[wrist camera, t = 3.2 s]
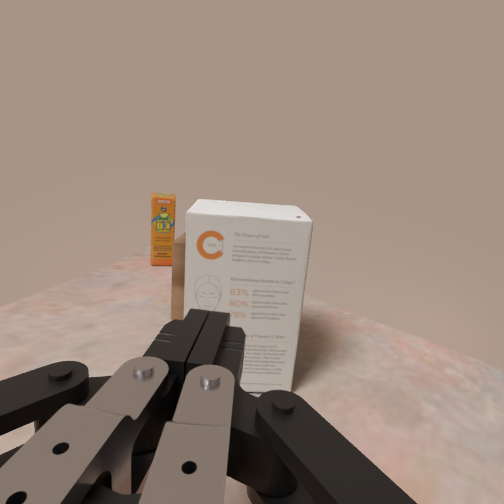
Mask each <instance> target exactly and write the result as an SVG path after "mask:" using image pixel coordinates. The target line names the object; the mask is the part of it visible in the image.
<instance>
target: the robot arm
mask: <svg viewBox="0 0 504 504" xmlns="http://www.w3.org/2000/svg"><path fill="white" fill-rule="evenodd" d="M245 340H246V334H245V332H244V331H243V329H242V327H234V326H230V313H226V312H218V311H211V312H210V311H209V310H201V309H193V308H191V309H190V310H189V312H188V313H187V315H186V316H185V318H184V320H178V319H174V320H172V321H171V322H169V323H167V324H165V325H164V327H163V328H162V330H161V331H160V333H159V334H158V335H157V337H156V338H155V340H154V341H153V342H152V344H151V345H150V347H149V348H148V349H147V351H146V352H145V354H144V355H143V357H138V358H134V359H131V360H129V361H127V362H125V363H124V364H123V365H122V366H121V367H120V368H119V369H118V370H117V371H116V372H115V373H114V374H113V375H112V376H104V377H90V378H89V372H88V368H87V366H86V365H84V364H83V363H80V362H76V361H62V362H57V363H53V364H50V365H47V366H44V367H41V368H38V369H35V370H32V371H29V372H26V373H23V374H20V375H17V376H14V377H11V378H8V379H5V380H2V381H0V436H1V435H3V434H5V433H8V432H10V431H12V430H15V429H17V428H19V427H22V426H24V425H26V424H29V423H31V422H33V421H34V427H35V434H34V435H33V436H32V437H31V438H30V439H29V440H28V441H27V442H26V443H25V444H23V445H21V446H19V447H16V448H14V449H12V450H10V451H8V452H6V453H3V454H1V455H0V504H224V495H225V484H226V475H227V476H229V477H231V478H233V479H235V480H237V481H239V482H241V483H243V484H245V485H247V494H248V497H249V499H250V501H251V502H252V504H417V503H416V502H415V501H414V500H413V499H412V498H410V497H409V496H408V495H407V494H406V493H405V492H404V491H403V490H402V489H401V488H400V487H398V486H397V485H396V484H395V483H394V482H393V481H392V480H391V479H390V478H389V477H388V476H386V475H385V474H384V473H383V472H382V471H381V470H380V469H379V468H378V467H377V466H376V465H374V464H373V463H372V462H371V461H370V460H369V459H368V458H367V457H366V456H365V455H363V454H362V453H361V452H360V451H359V450H358V449H357V448H356V447H355V446H354V445H353V444H351V443H350V442H349V441H348V440H347V439H346V438H345V437H344V436H343V435H342V434H341V433H339V432H338V431H337V430H336V429H335V428H334V427H333V426H332V425H331V424H330V423H329V422H327V421H326V420H325V419H324V418H323V417H322V416H321V415H320V414H319V413H318V412H317V411H315V410H314V409H313V408H312V407H311V406H310V405H309V404H308V403H307V402H306V401H305V400H303V399H302V398H301V397H300V396H298V395H296V394H294V393H292V392H289V391H285V390H270V391H267V392H265V393H263V394H262V395H260V397H259V398H258V397H255V396H253V395H251V394H249V393H247V392H246V391H245V390H243V389H242V388H241V386H240V380H241V376H242V370H243V360H244V350H245Z"/></svg>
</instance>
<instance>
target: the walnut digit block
mask: <svg viewBox="0 0 504 504" xmlns="http://www.w3.org/2000/svg"><path fill="white" fill-rule="evenodd" d="M185 250H186V232H185V233H184V234H183V235H181V236H180V237H179V238H178V239H176V240H175V241H174V242H173V254H172V300H171V319H173V320H174V319H178V320H184V288H185Z"/></svg>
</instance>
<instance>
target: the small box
mask: <svg viewBox="0 0 504 504" xmlns="http://www.w3.org/2000/svg"><path fill="white" fill-rule="evenodd" d="M312 229H313V221H312V220H311V219H310V218H309V217H308V216H307V215H306V214H305V213H304V212H303V211H302V210H301V209H299V208H298V207H297V206H288V205H287V206H286V205H274V204H260V203H247V202H232V201H219V200H206V199H198V200H197V201H196V202H195V204H194V205H193V206H192V207H191V208H190V209H189V210H188V211H187V212H186V250H185V288H184V318H185V316H186V315H187V313H188V312H189V310H190V309H191V308H193V309H201V310H209V311H210V312H211V311H218V312H226V313H230V326H234V327H242V329H243V331H244V332H245V334H246V340H245V350H244V360H243V370H242V376H241V380H240V386H241V388H242V389H243V390H245V391H246V392H267V391H270V390H285V391H289V392H291V388H292V381H293V374H294V366H295V359H296V353H297V346H298V339H299V331H300V323H301V314H302V306H303V298H304V290H305V282H306V274H307V267H308V259H309V252H310V244H311V236H312Z"/></svg>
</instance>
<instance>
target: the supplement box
mask: <svg viewBox="0 0 504 504" xmlns="http://www.w3.org/2000/svg"><path fill="white" fill-rule="evenodd" d="M151 220H152V221H151V265H152V266H172V254H173V242H174V229H175V228H174V226H175V194H163V193H152V219H151Z"/></svg>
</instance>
